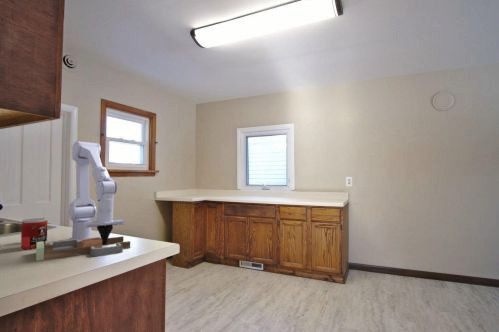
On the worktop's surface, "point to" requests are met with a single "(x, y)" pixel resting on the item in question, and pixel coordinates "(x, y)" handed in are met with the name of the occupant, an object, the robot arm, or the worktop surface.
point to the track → (79, 249)
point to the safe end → (40, 251)
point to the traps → (94, 251)
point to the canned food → (32, 232)
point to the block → (92, 242)
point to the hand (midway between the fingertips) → (104, 244)
